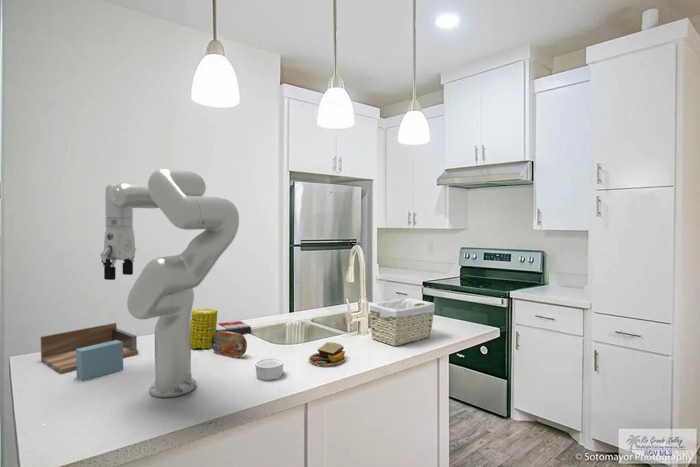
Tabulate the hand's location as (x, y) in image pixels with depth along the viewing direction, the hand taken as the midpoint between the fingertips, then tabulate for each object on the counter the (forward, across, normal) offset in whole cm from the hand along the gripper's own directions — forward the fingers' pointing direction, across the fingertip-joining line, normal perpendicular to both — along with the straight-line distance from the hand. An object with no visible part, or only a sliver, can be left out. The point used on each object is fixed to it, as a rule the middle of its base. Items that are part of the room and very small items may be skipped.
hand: (119, 276), depth 134 cm
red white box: (+31, +44, -22) cm, 58 cm away
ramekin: (+29, -3, -50) cm, 58 cm away
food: (+30, +25, -18) cm, 43 cm away
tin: (+30, +16, -31) cm, 46 cm away
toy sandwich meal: (+29, +12, -66) cm, 73 cm away
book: (+31, -3, +4) cm, 31 cm away
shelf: (+31, +11, +16) cm, 36 cm away
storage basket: (+28, +40, -95) cm, 107 cm away
